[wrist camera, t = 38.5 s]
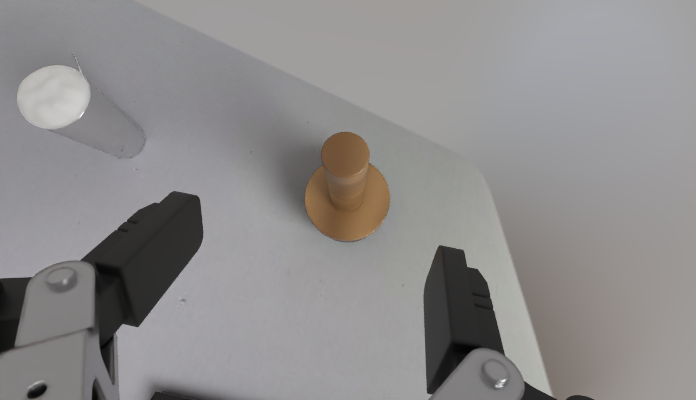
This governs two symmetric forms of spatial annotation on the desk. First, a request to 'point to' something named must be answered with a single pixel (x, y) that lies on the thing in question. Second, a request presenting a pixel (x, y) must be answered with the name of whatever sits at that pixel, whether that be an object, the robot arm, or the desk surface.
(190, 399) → the tile
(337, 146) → the brush
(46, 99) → the milkshake
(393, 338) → the desk surface
